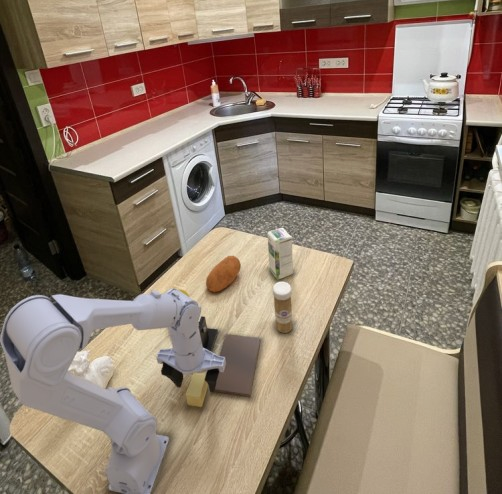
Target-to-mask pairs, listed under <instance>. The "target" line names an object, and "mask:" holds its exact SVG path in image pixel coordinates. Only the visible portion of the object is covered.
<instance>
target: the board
mask: <svg viewBox="0 0 502 494" xmlns="http://www.w3.org/2000/svg"><path fill="white" fill-rule="evenodd" d="M260 345H261V337H255V336H246V335H236V334H228V333H227V334H225V336H224V340H223V343H222V347H221V351H220V354H219V356H221V357H225V360H226V365H225V369H224V372H219V375H218V378H217V381H216V387H215V391H214V393H219V394H220V393H221V394H227V395H234V396H241V397H246V398H247V397H248V398H251V395H252V390H253V385H254V378H255V373H256V368H257V367H256V366H257V363H258V357H259V352H260V351H259V350H260Z"/></svg>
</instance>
